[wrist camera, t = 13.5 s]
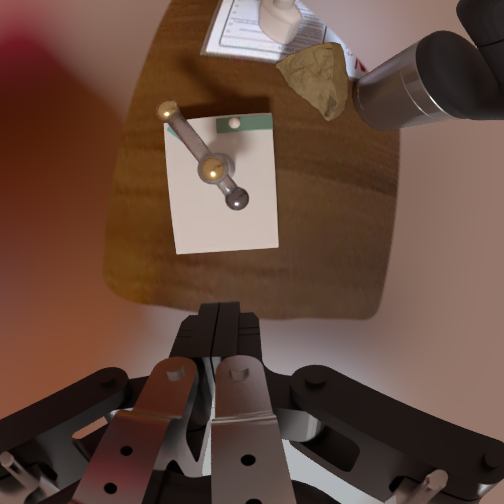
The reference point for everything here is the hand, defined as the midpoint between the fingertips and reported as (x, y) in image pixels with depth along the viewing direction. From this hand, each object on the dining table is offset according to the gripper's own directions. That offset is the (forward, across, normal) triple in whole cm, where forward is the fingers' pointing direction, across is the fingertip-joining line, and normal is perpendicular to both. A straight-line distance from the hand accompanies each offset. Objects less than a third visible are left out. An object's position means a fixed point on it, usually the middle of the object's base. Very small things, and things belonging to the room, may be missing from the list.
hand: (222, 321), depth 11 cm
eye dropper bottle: (+29, -7, -27) cm, 40 cm away
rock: (+29, -11, -17) cm, 36 cm away
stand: (+29, +2, -4) cm, 29 cm away
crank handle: (+24, +3, -8) cm, 26 cm away
